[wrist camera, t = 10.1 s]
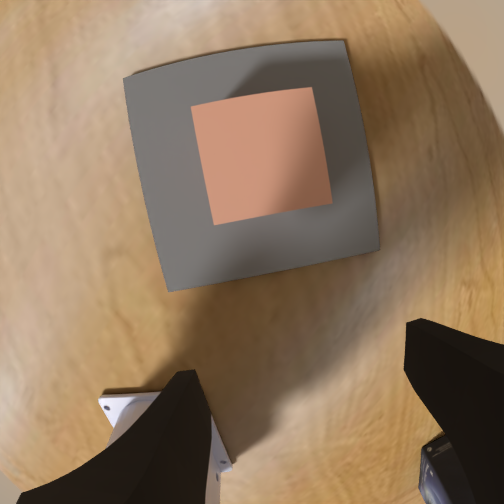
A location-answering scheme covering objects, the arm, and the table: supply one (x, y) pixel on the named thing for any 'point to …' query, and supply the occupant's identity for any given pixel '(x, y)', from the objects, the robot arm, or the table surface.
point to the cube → (262, 154)
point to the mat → (192, 178)
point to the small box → (443, 475)
